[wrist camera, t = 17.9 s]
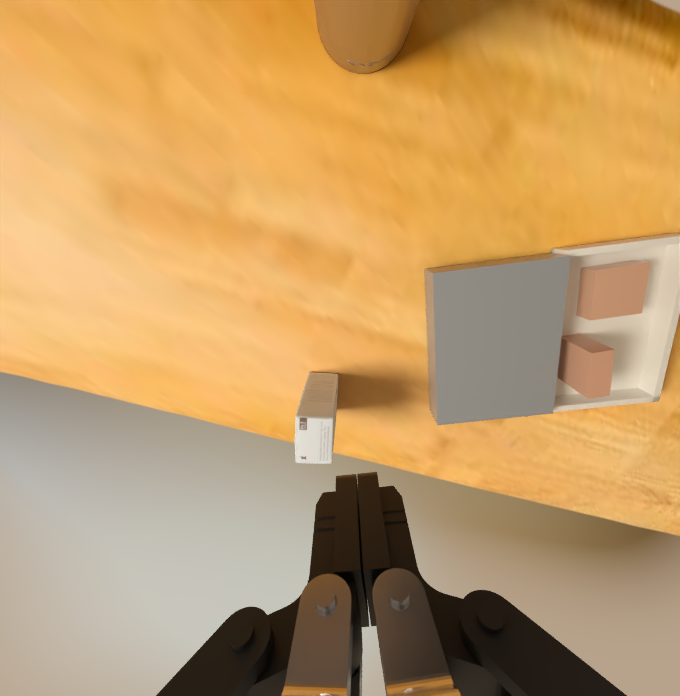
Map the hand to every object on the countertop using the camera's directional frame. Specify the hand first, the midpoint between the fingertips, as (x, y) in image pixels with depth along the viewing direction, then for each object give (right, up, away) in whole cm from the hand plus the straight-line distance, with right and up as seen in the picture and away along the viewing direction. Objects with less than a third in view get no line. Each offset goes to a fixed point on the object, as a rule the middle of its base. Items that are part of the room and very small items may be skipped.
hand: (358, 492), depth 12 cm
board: (+18, +7, +32) cm, 37 cm away
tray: (+33, +8, +31) cm, 46 cm away
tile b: (+28, +3, +29) cm, 41 cm away
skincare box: (-3, -1, +35) cm, 35 cm away
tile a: (+32, +12, +26) cm, 43 cm away
